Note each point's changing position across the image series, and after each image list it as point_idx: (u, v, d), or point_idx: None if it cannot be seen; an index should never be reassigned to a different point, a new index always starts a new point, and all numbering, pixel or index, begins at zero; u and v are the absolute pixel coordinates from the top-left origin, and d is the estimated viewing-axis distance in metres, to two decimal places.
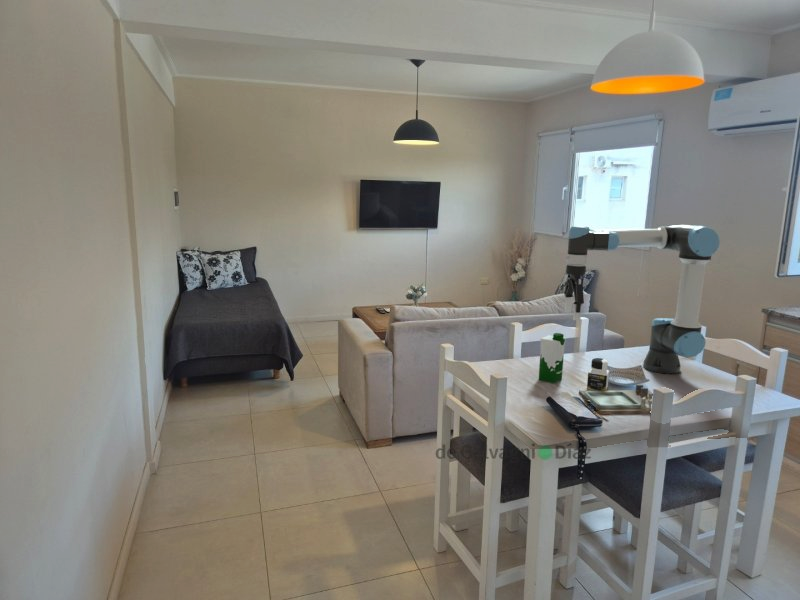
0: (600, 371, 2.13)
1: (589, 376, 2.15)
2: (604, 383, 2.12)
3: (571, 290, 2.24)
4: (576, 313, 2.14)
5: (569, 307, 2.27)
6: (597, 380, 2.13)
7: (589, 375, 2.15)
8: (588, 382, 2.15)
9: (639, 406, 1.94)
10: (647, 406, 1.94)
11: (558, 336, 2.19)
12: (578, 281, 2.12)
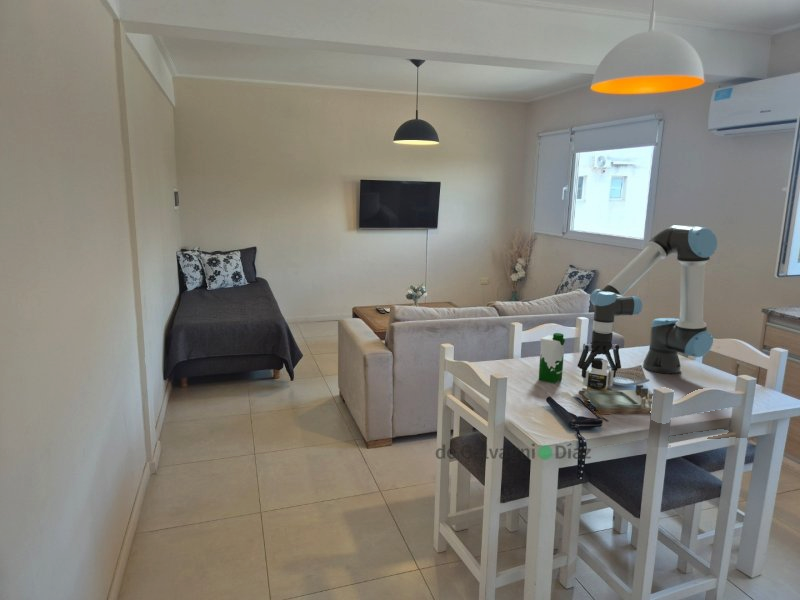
0: (600, 371, 2.13)
1: (589, 376, 2.15)
2: (604, 383, 2.12)
3: (608, 360, 2.15)
4: (584, 378, 2.17)
5: (610, 379, 2.17)
6: (597, 380, 2.13)
7: (589, 375, 2.15)
8: (588, 382, 2.15)
9: (639, 406, 1.94)
10: (647, 406, 1.94)
11: (558, 336, 2.19)
12: (583, 346, 2.14)
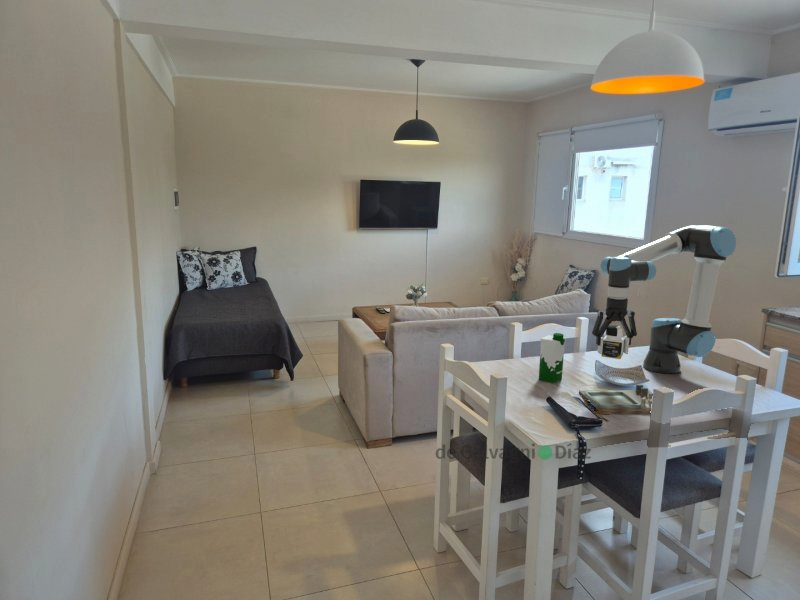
0: (615, 338, 2.09)
1: (603, 343, 2.10)
2: (619, 350, 2.08)
3: (624, 327, 2.11)
4: (599, 346, 2.12)
5: (625, 347, 2.12)
6: (612, 347, 2.09)
7: (604, 342, 2.10)
8: (603, 350, 2.11)
9: (639, 406, 1.94)
10: (647, 406, 1.94)
11: (558, 336, 2.19)
12: (598, 313, 2.10)
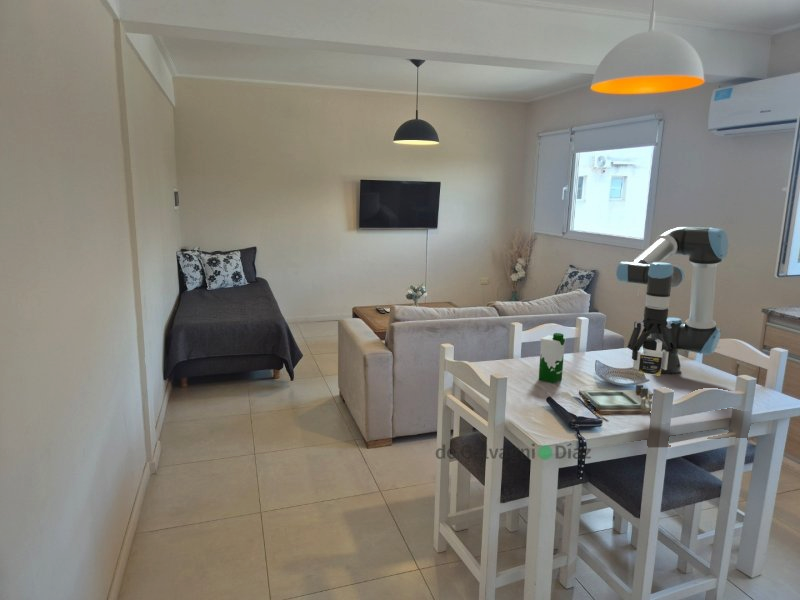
0: (654, 352, 1.88)
1: (641, 358, 1.90)
2: (659, 366, 1.87)
3: (662, 340, 1.90)
4: (635, 361, 1.92)
5: (664, 362, 1.92)
6: (650, 362, 1.88)
7: (641, 357, 1.89)
8: (640, 365, 1.90)
9: (639, 406, 1.94)
10: (647, 406, 1.94)
11: (558, 336, 2.19)
12: (635, 324, 1.89)
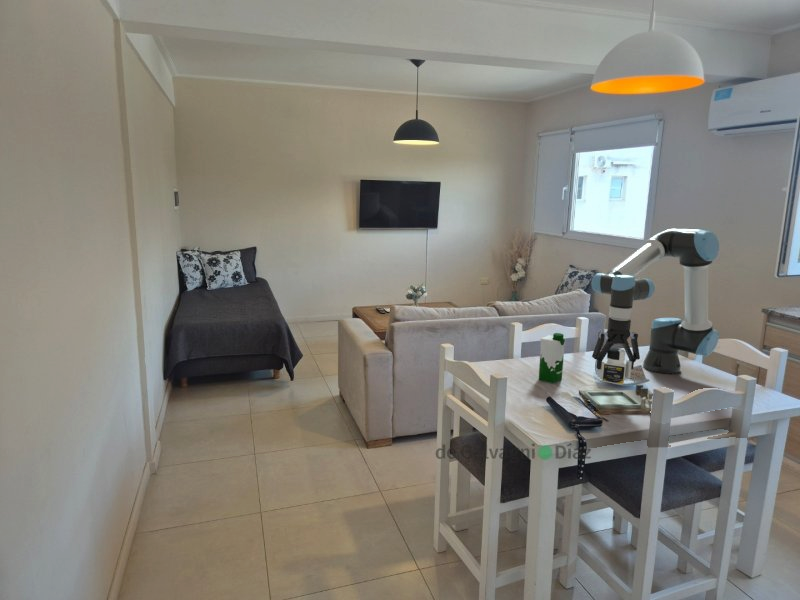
0: (617, 362, 1.95)
1: (605, 367, 1.96)
2: (621, 375, 1.94)
3: (626, 350, 1.97)
4: (599, 370, 1.98)
5: (627, 371, 1.98)
6: (614, 372, 1.95)
7: (605, 366, 1.96)
8: (604, 374, 1.97)
9: (639, 406, 1.94)
10: (647, 406, 1.94)
11: (558, 336, 2.19)
12: (599, 335, 1.96)
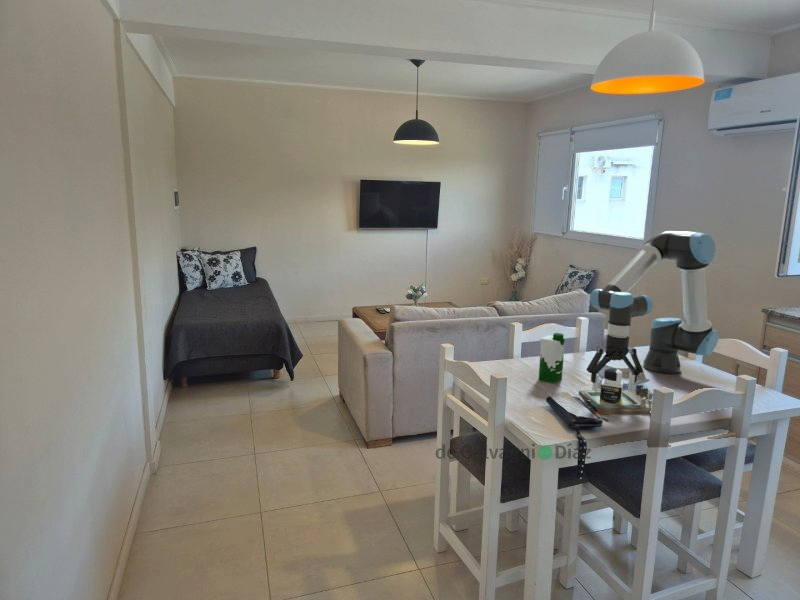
0: (614, 383, 1.96)
1: (602, 388, 1.97)
2: (619, 396, 1.95)
3: (627, 365, 1.98)
4: (593, 383, 1.99)
5: (630, 385, 1.99)
6: (611, 392, 1.96)
7: (602, 387, 1.97)
8: (601, 395, 1.98)
9: (639, 406, 1.94)
10: (647, 406, 1.94)
11: (558, 336, 2.19)
12: (597, 349, 1.97)
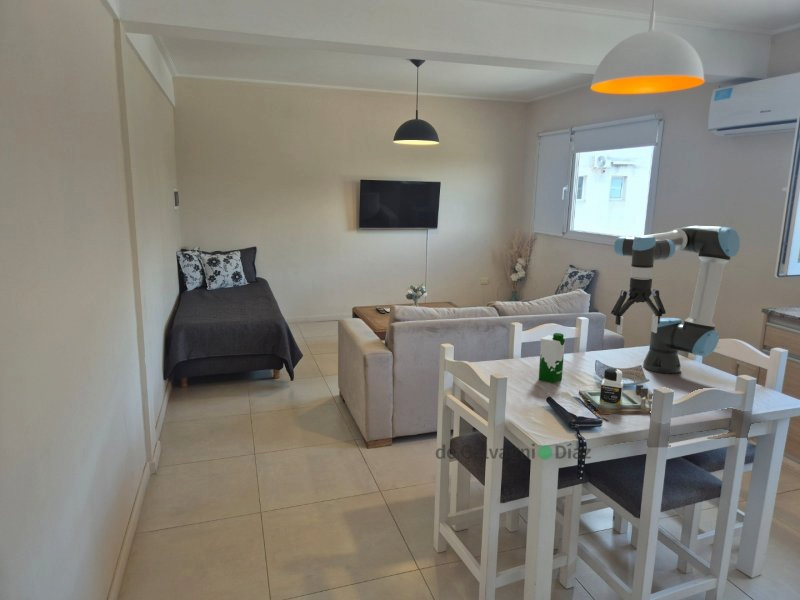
0: (614, 383, 1.96)
1: (602, 388, 1.97)
2: (619, 396, 1.95)
3: (650, 306, 2.04)
4: (618, 325, 2.05)
5: (654, 326, 2.06)
6: (611, 392, 1.96)
7: (602, 387, 1.97)
8: (601, 395, 1.98)
9: (639, 406, 1.94)
10: (647, 406, 1.94)
11: (558, 336, 2.19)
12: (621, 292, 2.03)
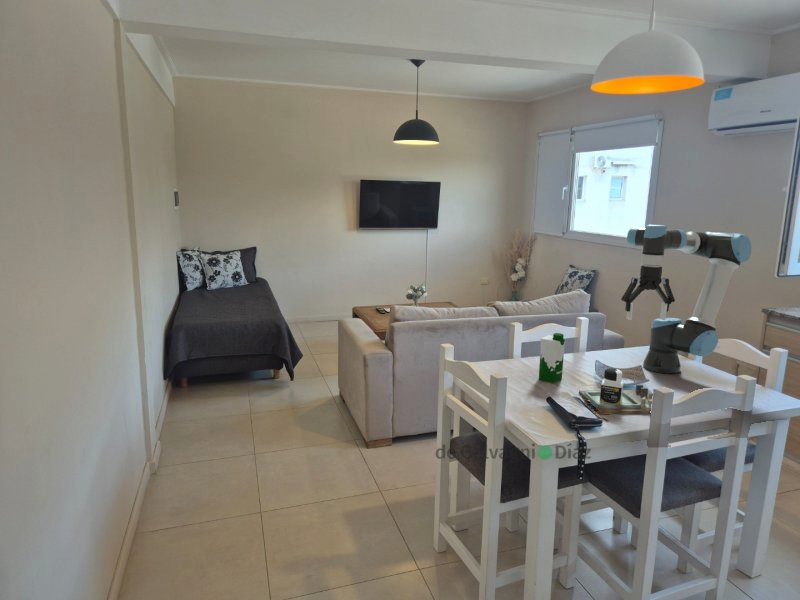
0: (614, 383, 1.96)
1: (602, 388, 1.97)
2: (619, 396, 1.95)
3: (660, 294, 2.09)
4: (628, 312, 2.10)
5: (663, 314, 2.10)
6: (611, 392, 1.96)
7: (602, 387, 1.97)
8: (601, 395, 1.98)
9: (639, 406, 1.94)
10: (647, 406, 1.94)
11: (558, 336, 2.19)
12: (632, 279, 2.08)
